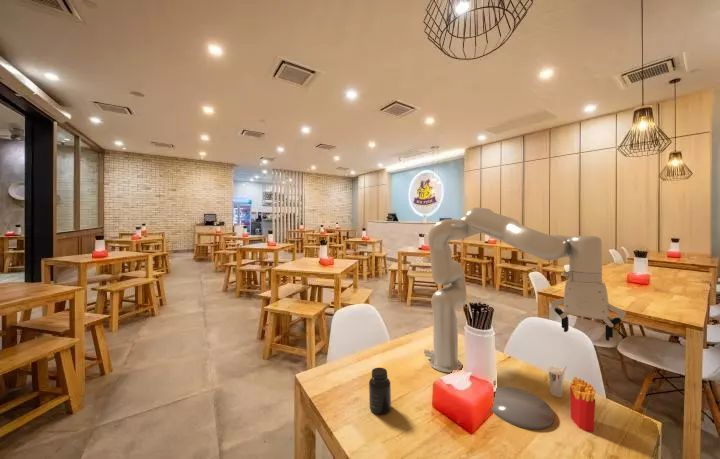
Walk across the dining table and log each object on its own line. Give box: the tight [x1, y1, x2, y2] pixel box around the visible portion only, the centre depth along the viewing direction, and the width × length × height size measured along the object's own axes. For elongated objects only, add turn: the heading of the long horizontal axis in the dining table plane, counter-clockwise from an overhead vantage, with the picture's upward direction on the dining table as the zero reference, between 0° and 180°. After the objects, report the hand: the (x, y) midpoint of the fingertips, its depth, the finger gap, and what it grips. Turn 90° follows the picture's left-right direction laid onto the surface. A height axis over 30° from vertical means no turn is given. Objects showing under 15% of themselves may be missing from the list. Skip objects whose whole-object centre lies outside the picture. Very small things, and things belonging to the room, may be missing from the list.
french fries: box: [569, 376, 596, 433], centre depth 80 cm, size 8×4×12 cm, turn 169°
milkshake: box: [547, 366, 567, 398], centre depth 94 cm, size 4×5×10 cm
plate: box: [490, 386, 555, 431], centre depth 88 cm, size 18×18×2 cm
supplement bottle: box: [368, 367, 392, 416], centre depth 88 cm, size 7×7×12 cm
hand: (586, 334), depth 83 cm, fingers open, 9 cm apart
